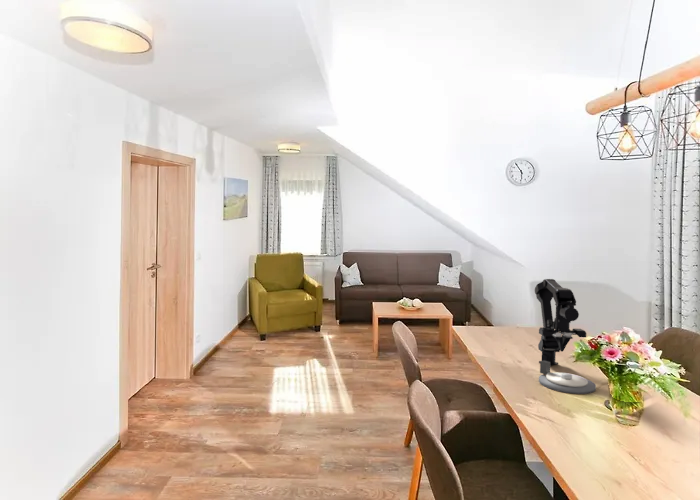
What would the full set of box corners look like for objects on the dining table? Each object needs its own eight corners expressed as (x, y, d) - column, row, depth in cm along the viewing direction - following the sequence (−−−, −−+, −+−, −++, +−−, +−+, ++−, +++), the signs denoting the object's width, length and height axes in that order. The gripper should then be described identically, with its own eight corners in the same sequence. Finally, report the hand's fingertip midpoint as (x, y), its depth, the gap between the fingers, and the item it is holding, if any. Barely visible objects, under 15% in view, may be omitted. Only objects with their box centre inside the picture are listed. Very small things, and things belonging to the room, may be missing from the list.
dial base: (558, 373, 202) (558, 370, 202) (606, 388, 183) (606, 384, 183) (527, 381, 190) (528, 377, 190) (576, 397, 172) (576, 393, 171)
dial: (595, 382, 184) (595, 369, 184) (574, 389, 176) (575, 375, 175) (552, 370, 201) (552, 358, 200) (531, 376, 192) (531, 363, 192)
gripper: (576, 314, 202) (576, 347, 203) (535, 313, 204) (534, 346, 205) (587, 318, 191) (586, 353, 192) (543, 317, 193) (542, 352, 194)
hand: (561, 351), depth 196 cm, fingers closed
